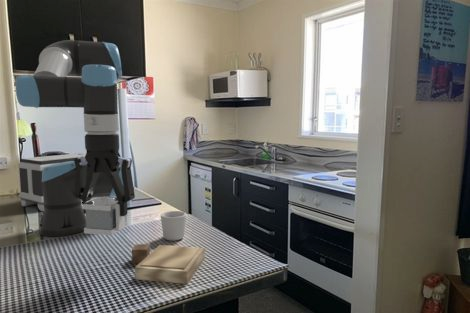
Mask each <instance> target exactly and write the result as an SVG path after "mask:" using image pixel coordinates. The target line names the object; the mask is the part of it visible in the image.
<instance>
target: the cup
mask: <svg viewBox="0 0 470 313" xmlns="http://www.w3.org/2000/svg"><path fill="white" fill-rule="evenodd" d="M186 219H187V213H186V212H185V211H181V210H168V211H165V212H163V213H161V214H160V220H161V229H162V230H161V231H162V236H163V238H164V239H165V240H167V241H179V240H182V239H183V238H184V236H185V232H186V231H185V230H186V221H187V220H186Z"/></svg>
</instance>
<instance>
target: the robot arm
mask: <svg viewBox="0 0 470 313" xmlns="http://www.w3.org/2000/svg"><path fill="white" fill-rule="evenodd" d="M38 56H39V57H38V66H37V68H36V70H35V71H34V73H33V74H25V75H24V74H23V75H22V74H21V75H18V76H17V77H16V80H15V94H16V99H17V102H18V104H19V105H20V106H22V107H27V108H28V107H29V108H35V109H38V108H83V125H84V126H83V128H84V129H83V130H84V132H86V134H85V135H84V148H85V151H86V153H85V154H86V155H85V157H78V158H75V159H74V161H69V162H62V163H57V164H52V165H49V166H46V167H45V168H44V169H43V170H42V185H43V200H44V211H42V215H41V220H40V223H39V226H38V229H39V235H41V236H44V237H64V236H71V235H75V234H78V233H81V232H84V228H85V227H86V209H83V204H84V203H87V202H88V201H92V200H94V199H91V198H96V197H107V198H111V197H115V198H117V199H118V202H117V203H116V204H115V209H116V231H117V232H119V231H121V230H122V229H124V228H125V227H126V226H125V221H126V220H125V216H127V215H128V202H130V201H131V200H134V199H135V197H136V196H135V187H134V182H133V175H132V169H131V168H132V163H133V159H132V158H131V157H129V158H125V157H122V156H121V154H120V152H119V150H120V135H119V134H118V133H117V132H119V126H120V124H119V110H118V108H119V107H118V82H119V78H122V77H123V71H122V62H121V55H120V52H119V48H118V46H117V45H116V44H114V43H111V42H105V41H89V40H88V41H87V40H74V39H65V40H60V41H57V42H53V43H51V44H49V45H47V46H45V48H43V50H42V51H41V52H40V54H39V55H38ZM81 200H82V201H83V203H81Z"/></svg>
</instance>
